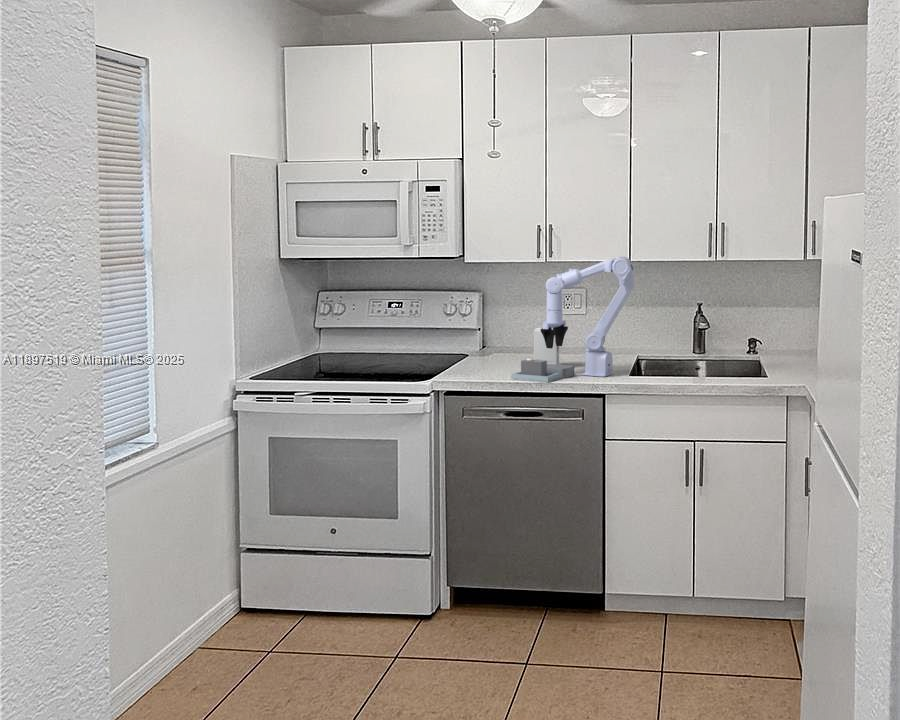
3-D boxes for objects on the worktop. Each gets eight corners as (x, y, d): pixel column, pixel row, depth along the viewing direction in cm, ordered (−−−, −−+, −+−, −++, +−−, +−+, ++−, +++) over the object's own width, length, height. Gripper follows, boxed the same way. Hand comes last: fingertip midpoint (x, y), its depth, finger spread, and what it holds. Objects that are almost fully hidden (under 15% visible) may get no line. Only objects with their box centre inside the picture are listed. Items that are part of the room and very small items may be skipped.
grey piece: (557, 369, 433) (557, 330, 431) (533, 369, 434) (533, 329, 432) (559, 366, 441) (559, 327, 439) (536, 366, 443) (536, 327, 441)
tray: (559, 379, 409) (559, 373, 409) (547, 382, 402) (547, 376, 402) (523, 376, 417) (523, 370, 417) (511, 379, 410) (511, 373, 409)
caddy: (546, 377, 410) (546, 358, 409) (541, 379, 406) (541, 360, 405) (526, 375, 414) (526, 357, 413) (521, 377, 410) (520, 359, 409)
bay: (574, 375, 418) (574, 365, 417) (563, 378, 411) (563, 368, 410) (547, 373, 423) (547, 363, 423) (536, 376, 416) (536, 366, 416)
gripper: (553, 307, 427) (553, 344, 429) (535, 311, 415) (535, 348, 416) (570, 308, 423) (570, 345, 425) (552, 312, 411) (552, 349, 413)
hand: (554, 347), depth 420 cm, fingers open, 7 cm apart
